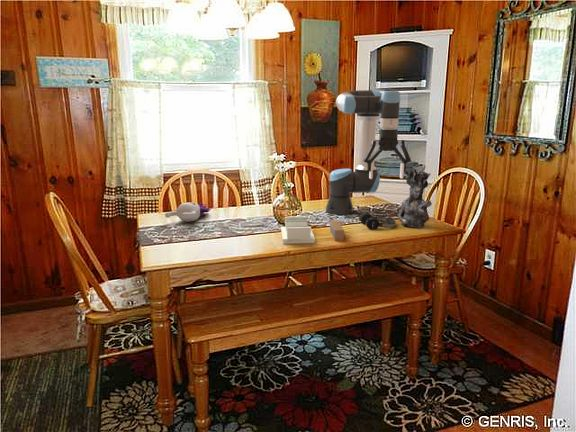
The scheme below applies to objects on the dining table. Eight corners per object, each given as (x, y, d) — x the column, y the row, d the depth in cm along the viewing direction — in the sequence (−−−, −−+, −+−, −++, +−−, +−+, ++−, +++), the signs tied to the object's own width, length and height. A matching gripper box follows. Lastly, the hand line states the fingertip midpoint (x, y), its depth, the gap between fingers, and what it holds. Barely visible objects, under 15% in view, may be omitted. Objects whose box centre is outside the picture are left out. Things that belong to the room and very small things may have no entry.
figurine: (220, 201, 238) (188, 203, 210) (220, 219, 239) (188, 224, 211) (195, 201, 244) (160, 203, 216) (195, 218, 245) (161, 223, 217)
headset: (353, 203, 220) (391, 206, 224) (350, 221, 223) (388, 224, 226) (362, 209, 207) (402, 212, 211) (359, 229, 210) (398, 231, 214)
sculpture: (415, 231, 208) (420, 168, 201) (392, 223, 221) (395, 164, 213) (435, 226, 216) (441, 165, 208) (412, 219, 228) (416, 162, 220)
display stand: (281, 230, 209) (280, 216, 207) (310, 230, 210) (310, 216, 208) (282, 243, 191) (282, 228, 189) (315, 243, 192) (315, 227, 190)
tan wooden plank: (329, 231, 210) (329, 221, 208) (338, 231, 210) (338, 220, 208) (334, 241, 195) (334, 230, 194) (343, 240, 195) (343, 230, 194)
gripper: (361, 129, 182) (359, 180, 187) (420, 129, 184) (417, 179, 189) (357, 128, 189) (355, 177, 195) (414, 127, 191) (411, 176, 196)
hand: (386, 178), depth 192 cm, fingers open, 13 cm apart
